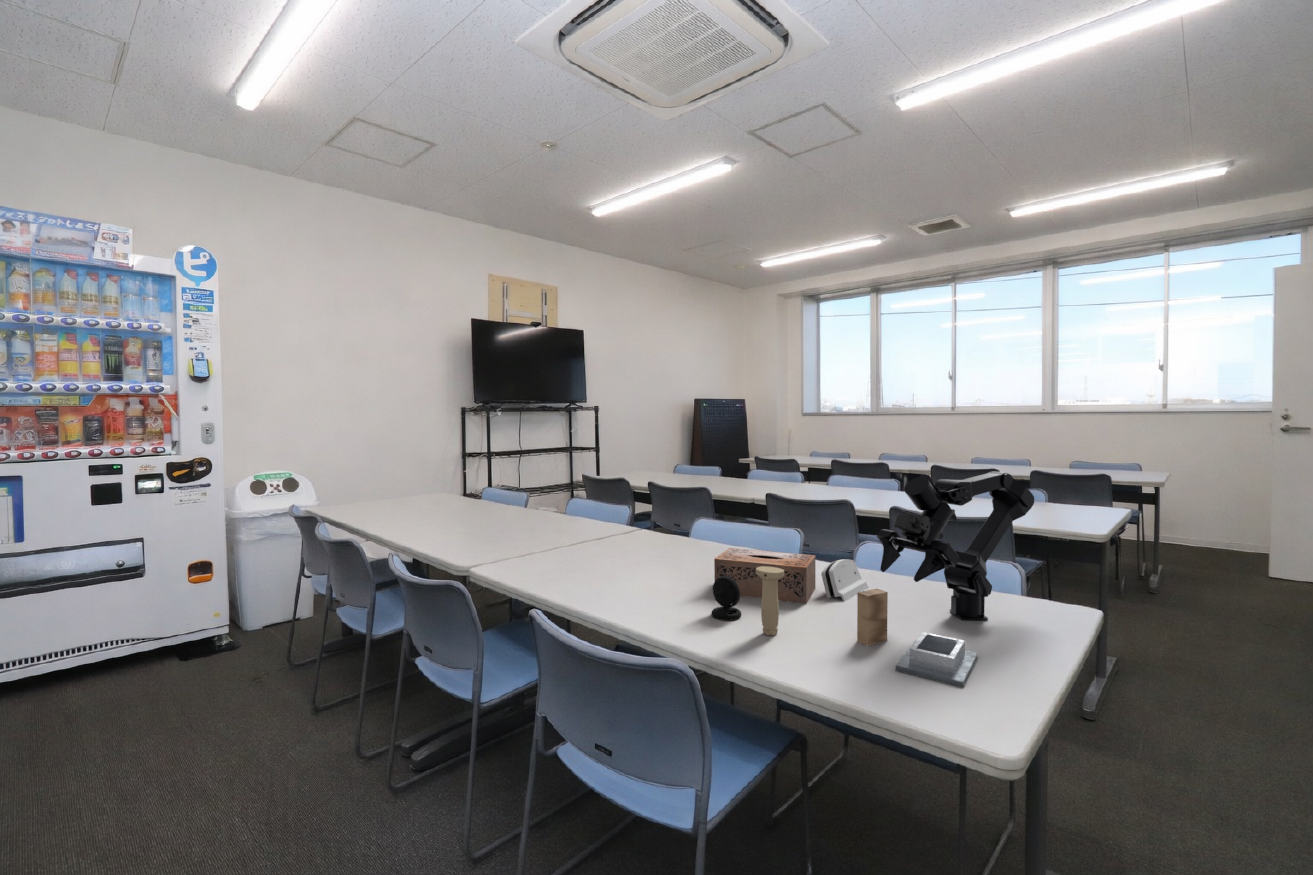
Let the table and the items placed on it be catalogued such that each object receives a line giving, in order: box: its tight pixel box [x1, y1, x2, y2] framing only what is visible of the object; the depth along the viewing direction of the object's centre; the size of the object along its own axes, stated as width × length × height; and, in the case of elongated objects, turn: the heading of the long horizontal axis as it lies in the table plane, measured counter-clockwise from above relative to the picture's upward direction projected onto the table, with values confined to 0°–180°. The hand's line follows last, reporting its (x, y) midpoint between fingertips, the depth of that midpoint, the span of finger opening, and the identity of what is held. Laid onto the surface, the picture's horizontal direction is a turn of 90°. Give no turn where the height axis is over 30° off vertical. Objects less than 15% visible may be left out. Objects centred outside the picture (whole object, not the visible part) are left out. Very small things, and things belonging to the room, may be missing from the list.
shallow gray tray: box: [894, 631, 979, 688], centre depth 118 cm, size 16×12×4 cm
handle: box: [756, 566, 784, 637], centre depth 134 cm, size 5×6×15 cm
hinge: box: [821, 558, 869, 602], centre depth 166 cm, size 17×5×10 cm, turn 138°
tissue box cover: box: [713, 547, 816, 605], centre depth 167 cm, size 26×14×10 cm, turn 66°
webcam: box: [711, 576, 742, 622], centre depth 147 cm, size 8×8×10 cm
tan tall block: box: [856, 588, 889, 647], centre depth 130 cm, size 6×3×11 cm, turn 117°
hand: (897, 575), depth 133 cm, fingers open, 9 cm apart
